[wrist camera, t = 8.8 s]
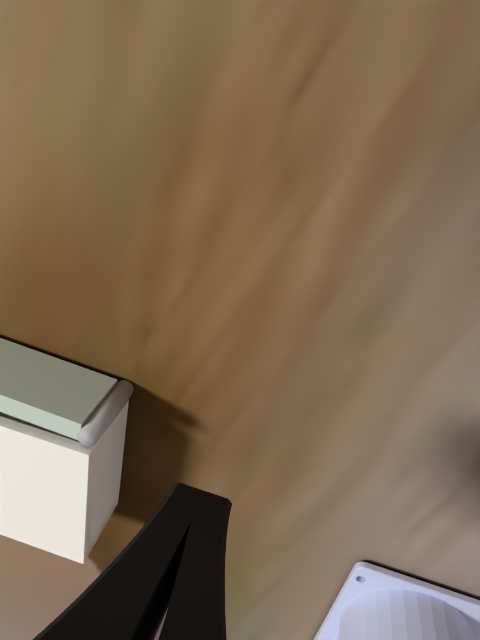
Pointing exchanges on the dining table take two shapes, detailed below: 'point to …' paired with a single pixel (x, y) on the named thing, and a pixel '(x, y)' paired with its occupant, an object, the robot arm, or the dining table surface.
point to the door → (58, 393)
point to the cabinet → (58, 485)
